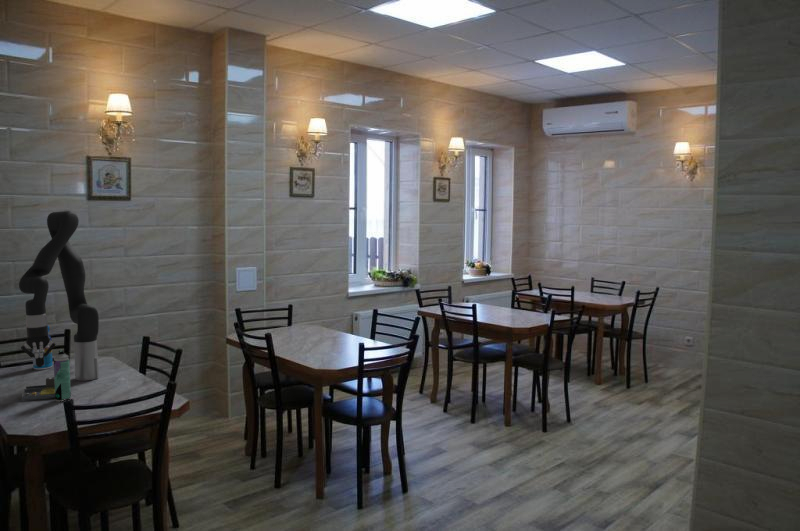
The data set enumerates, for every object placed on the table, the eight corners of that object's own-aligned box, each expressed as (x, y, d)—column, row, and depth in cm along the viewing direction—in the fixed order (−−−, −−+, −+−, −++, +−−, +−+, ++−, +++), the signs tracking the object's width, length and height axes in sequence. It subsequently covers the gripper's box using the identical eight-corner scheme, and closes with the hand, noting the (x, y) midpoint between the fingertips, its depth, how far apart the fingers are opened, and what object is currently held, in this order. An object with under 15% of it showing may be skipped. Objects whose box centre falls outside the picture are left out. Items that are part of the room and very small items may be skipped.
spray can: (67, 396, 258) (65, 348, 256) (73, 399, 254) (71, 350, 253) (53, 399, 254) (50, 350, 252) (58, 402, 250) (56, 352, 248)
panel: (67, 389, 267) (67, 382, 267) (64, 397, 257) (63, 390, 257) (26, 393, 262) (26, 386, 262) (21, 401, 251) (21, 394, 251)
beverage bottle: (32, 370, 297) (30, 328, 295) (33, 366, 304) (31, 325, 303) (52, 368, 301) (51, 327, 299) (53, 364, 308) (51, 324, 306)
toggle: (55, 386, 265) (54, 376, 264) (54, 388, 262) (54, 378, 262) (47, 387, 263) (46, 377, 263) (46, 389, 261) (45, 379, 261)
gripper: (56, 321, 264) (59, 362, 266) (19, 324, 259) (23, 366, 261) (54, 325, 258) (57, 366, 260) (16, 328, 252) (20, 370, 254)
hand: (40, 366), depth 260 cm, fingers closed
